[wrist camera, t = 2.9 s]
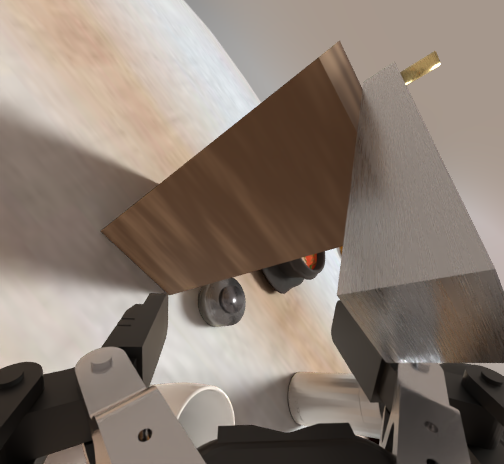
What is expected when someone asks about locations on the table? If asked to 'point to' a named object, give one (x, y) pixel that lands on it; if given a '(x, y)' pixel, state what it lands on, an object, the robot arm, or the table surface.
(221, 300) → the round knob
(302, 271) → the casserole
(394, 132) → the bar
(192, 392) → the white tapered cylinder
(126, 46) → the table surface
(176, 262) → the pedestal
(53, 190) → the table surface
